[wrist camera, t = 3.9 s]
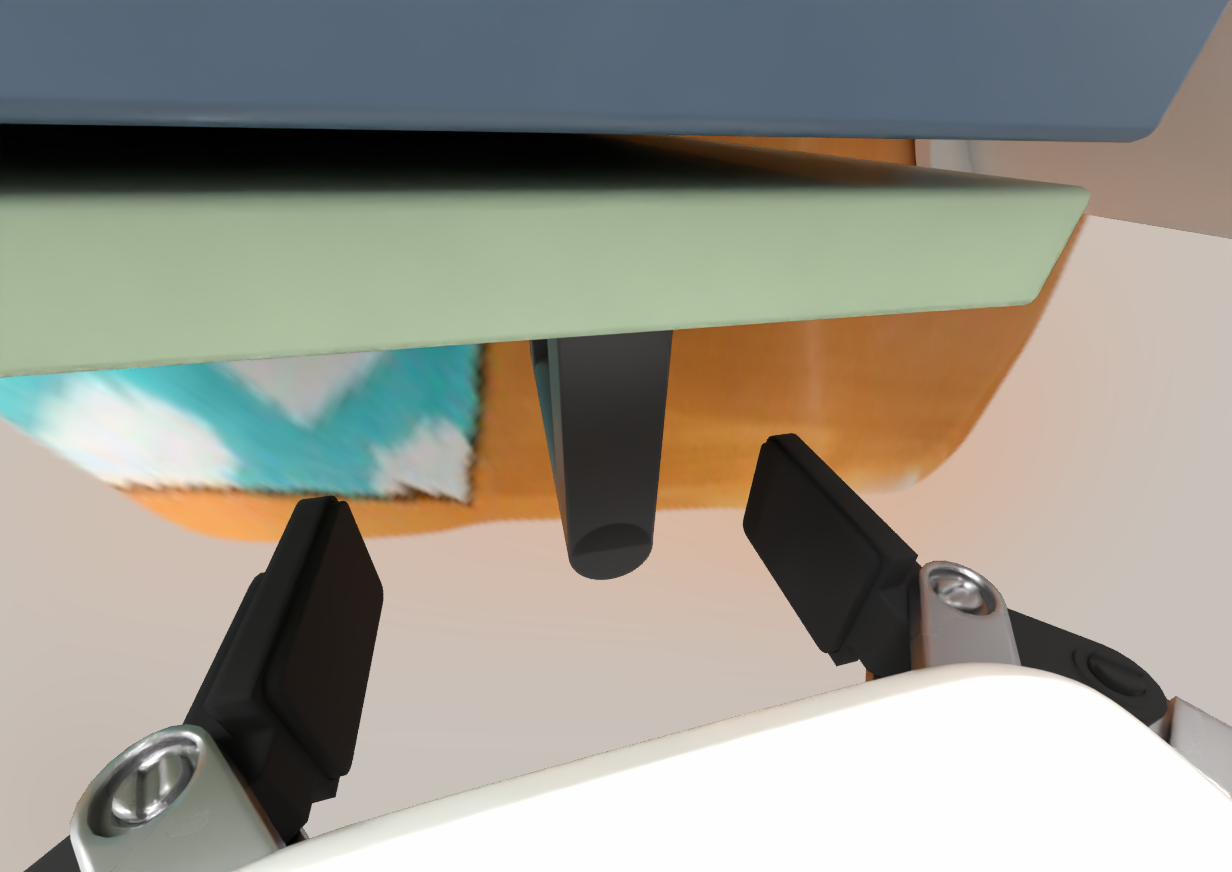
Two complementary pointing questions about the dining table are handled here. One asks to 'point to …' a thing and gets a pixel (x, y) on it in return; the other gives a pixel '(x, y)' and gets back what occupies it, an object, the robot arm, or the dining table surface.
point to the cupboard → (610, 65)
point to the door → (489, 262)
